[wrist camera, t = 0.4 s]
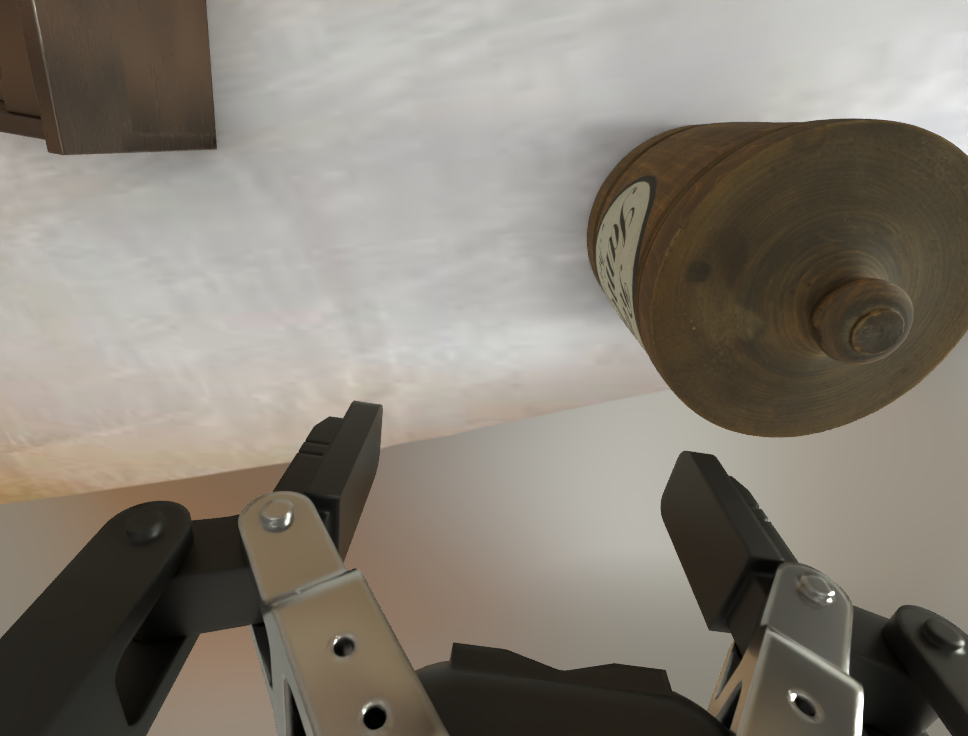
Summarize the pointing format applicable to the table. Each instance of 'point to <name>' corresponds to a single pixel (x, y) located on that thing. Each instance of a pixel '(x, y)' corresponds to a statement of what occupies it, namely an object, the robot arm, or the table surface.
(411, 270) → the table surface
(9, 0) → the shelf
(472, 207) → the table surface
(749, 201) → the wooden container
